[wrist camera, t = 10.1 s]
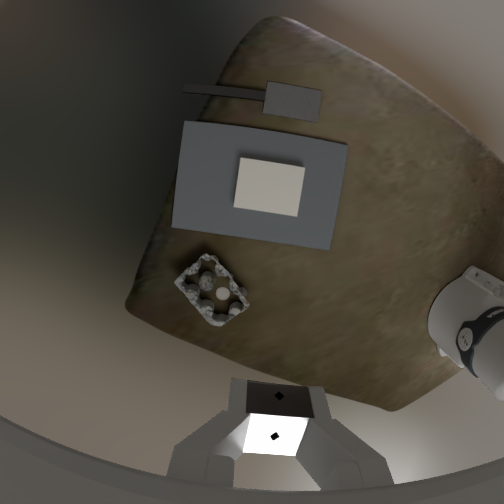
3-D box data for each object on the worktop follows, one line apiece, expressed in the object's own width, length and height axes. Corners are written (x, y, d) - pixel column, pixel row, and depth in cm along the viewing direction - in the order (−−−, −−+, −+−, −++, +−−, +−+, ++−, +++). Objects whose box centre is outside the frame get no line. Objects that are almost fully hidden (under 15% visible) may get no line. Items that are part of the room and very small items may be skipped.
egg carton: (254, 297, 51) (254, 308, 48) (218, 321, 53) (215, 334, 49) (212, 245, 49) (208, 252, 45) (176, 273, 50) (170, 282, 47)
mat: (347, 145, 44) (348, 145, 44) (328, 249, 49) (329, 250, 48) (185, 121, 44) (184, 120, 43) (172, 226, 48) (171, 227, 48)
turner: (321, 91, 42) (322, 90, 41) (317, 122, 44) (318, 122, 43) (187, 73, 42) (185, 72, 41) (181, 104, 43) (180, 103, 42)
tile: (241, 157, 45) (303, 167, 45) (234, 205, 47) (295, 214, 47) (240, 157, 43) (305, 167, 43) (233, 207, 45) (297, 216, 45)
